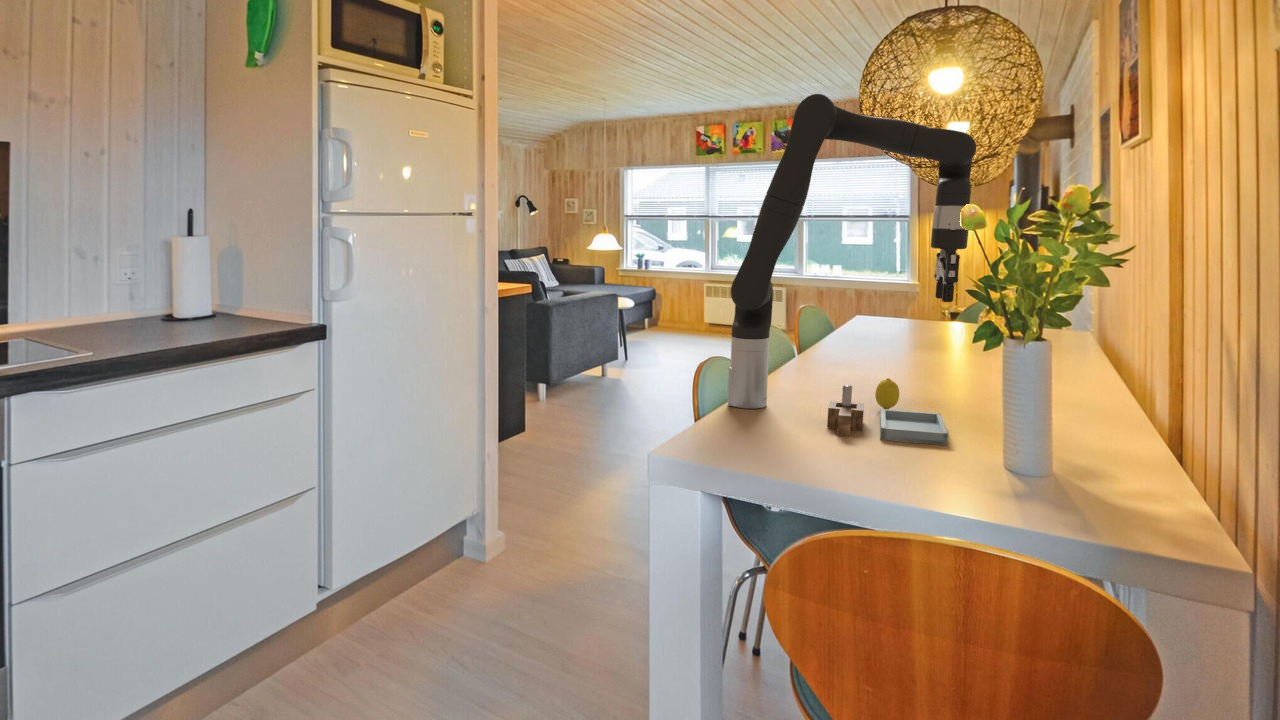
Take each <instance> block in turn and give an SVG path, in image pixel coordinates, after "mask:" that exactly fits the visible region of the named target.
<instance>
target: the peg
mask: <svg viewBox="0 0 1280 720" xmlns="http://www.w3.org/2000/svg"><path fill="white" fill-rule="evenodd" d="M852 394H853V385H850V384H843V385H842V395H841V398H842V399H841V402H842V408H851V402H852V398H853V397H852Z"/></svg>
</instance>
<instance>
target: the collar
mask: <svg viewBox="0 0 1280 720" xmlns="http://www.w3.org/2000/svg"><path fill="white" fill-rule="evenodd" d="M827 408H828V409H827V424H826V428H827V427H830V428H829V429H837V428H838V429H837V435H838V436H840V437H847V436H848V438H849V437H850V436H851V430H853V431H860V430H862V431H863V425H864V424H863V423H864V412H865V411H864V410H865V403H863V402H853V401H851V408H842V401H841V400H840V401H837V400H829V403H828V407H827Z"/></svg>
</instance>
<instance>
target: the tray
mask: <svg viewBox="0 0 1280 720" xmlns="http://www.w3.org/2000/svg"><path fill="white" fill-rule="evenodd" d="M879 413H880V416H879V436H880V437H879V438H880V439H879V440H880V441H889V440H891V441H892V442H901V441H902V442H903V443H912V442H913V444H925V445H936V446H937V445H938V446H948V440H949V439H948V438H949V431H948V430H947V427H946V424H945V422H944V419H943V416H942V413H936V412H926V411H925V412H924V411H914V410H913V411H910V410H900V409H899V410H898V409H884V408H880V412H879Z"/></svg>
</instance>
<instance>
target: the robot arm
mask: <svg viewBox="0 0 1280 720" xmlns="http://www.w3.org/2000/svg"><path fill="white" fill-rule="evenodd" d="M789 130H790V131H789V134H788V137H787V143H786V145H785V149H784V152H783V154H782V156H781V159H780V161H779V162H778V165H777V167H776V170H775V172H774V174H773V176H772V179H771V181H770V184H769V186H768V189H767V190H766V194H765V196H764V198H763V201H762V204H761V207H760V211H759V213H758V217H757V220H756V221H755V226H754V229H753V232H752V235H751V239H750V243H749V247H748V250H747V252H746V254H745V257H744V258H743V260H742V263H741V265H740V267H739V269H738V271H737V273H736V275H735V277H734V279H733V281H732V284H731V285H730V297H731V300H732V302H733V303H734V307H735V308H734V317H733V321H732V325H731V340H730V341H731V342H730V343H731V345H730V346H731V347H730V348H731V349H730V366H729V368H728V381H727V382H728V383H727V406H731V407H735V408H740V409H749V410H750V409H763V408H765V407H767V404H768V403H767V402H768V379H769V376H768V375H769V356H770V353H769V352H770V331H771V326H772V316H773V315H772V313H773V303H774V302H773V301H774V300H773V299H774V290H773V289H774V288H773V283H772V276H773V274H774V271H775V268H776V265H777V261H778V260H779V257H780V255H781V254H782V252H783V250H784V248H785V246H786V245H787V243H788V242H789V240H790V238H791V237H792V235H793V233H794V231H795V228H796V226H797V224H798V222H799V220H800V217H801V215H802V212H803V209H804V207H805V203H806V201H807V197H808V193H809V189H810V186H811V179H812V175H813V170H814V164H815V162H816V160H817V156H818V154H819V152H820V150H821V147H822V145H823V142H824V141H825V140H829V141H830V140H831V141H842V142H849V143H855V144H859V145H863V146H867V147H872V148H875V149H879V150H881V151H882V150H883V151H885V152H889V153H894V154H897V155H901V156H906V157H910V158H914V159H915V158H916V159H921V158H922V159H923V158H925V159H928V160H932V161H935V162H938V174H937V175H938V182H937V188H936V194H935V204H934V212H933V215H932V225H931V227H932V228H931V237H930V248H932V249H938V250H940V251H939V252H937V253H936V255H935V257H936V258H935V259H936V260H935V268H934V269H935V270H934V275H933V277H934V278H935V282H936V284H935V285H936V286H935V294H934V295H935V298H936V299H939V300H941V301H942V302H943V303H953V301H954V295H955V294H954V292H955V285H956V284H957V283H958V282H959V269H960V268H959V267H960V259H961V256H960V254H957V251H958V250H965V249H967V247H968V241H969V230H965V229H963V228H962V227H961V226H960V222H959V221H960V212H961V209H962V208H963V207H964V206H965V205H966V204H970V203H971V194H972V183H971V172H972V163H973V158H974V157H975V155H976V152H977V143H976V140H975V139H974V137H972V135H970V134H968V133H967V132H963V131H959V130H954V129H953V130H952V129H947V128H938V127H932V126H927V125H923V124H919V123H915V122H911V121H906V120H902V119H896V118H890V117H889V118H888V117H880V116H879V117H878V116H871V115H870V116H868V115H864V114H859V113H854V112H852V111H848V110H846V109H843V108H841V107H840V106H836V105H835V103H834V102H833V101H832V100H831V99H830V97H828V96H827V95H826V94H822V93H813V94H810V95H807V96H806V97H804V98H802V100H801V101H800V102H799V103H798V105H797V106H796V108H795V111H794V114H793V119H792V122H791V127H790V129H789Z"/></svg>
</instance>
